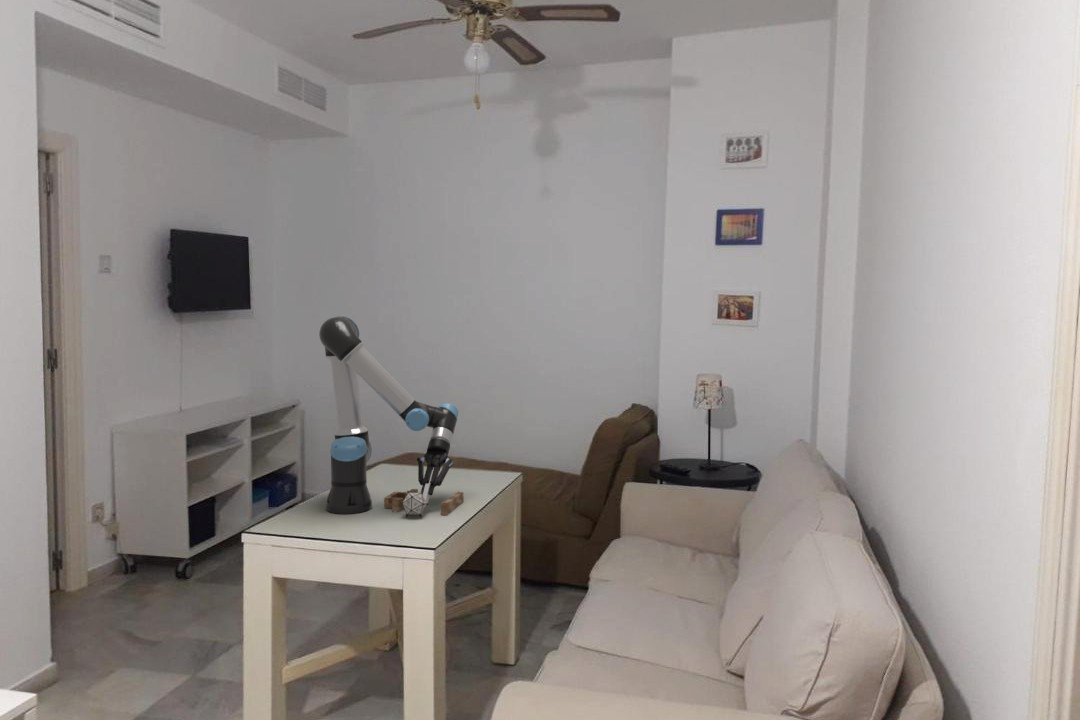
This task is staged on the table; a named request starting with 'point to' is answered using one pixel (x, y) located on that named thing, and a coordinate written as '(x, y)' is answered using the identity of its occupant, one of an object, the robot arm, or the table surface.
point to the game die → (414, 503)
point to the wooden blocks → (398, 497)
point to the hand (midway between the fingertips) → (424, 502)
